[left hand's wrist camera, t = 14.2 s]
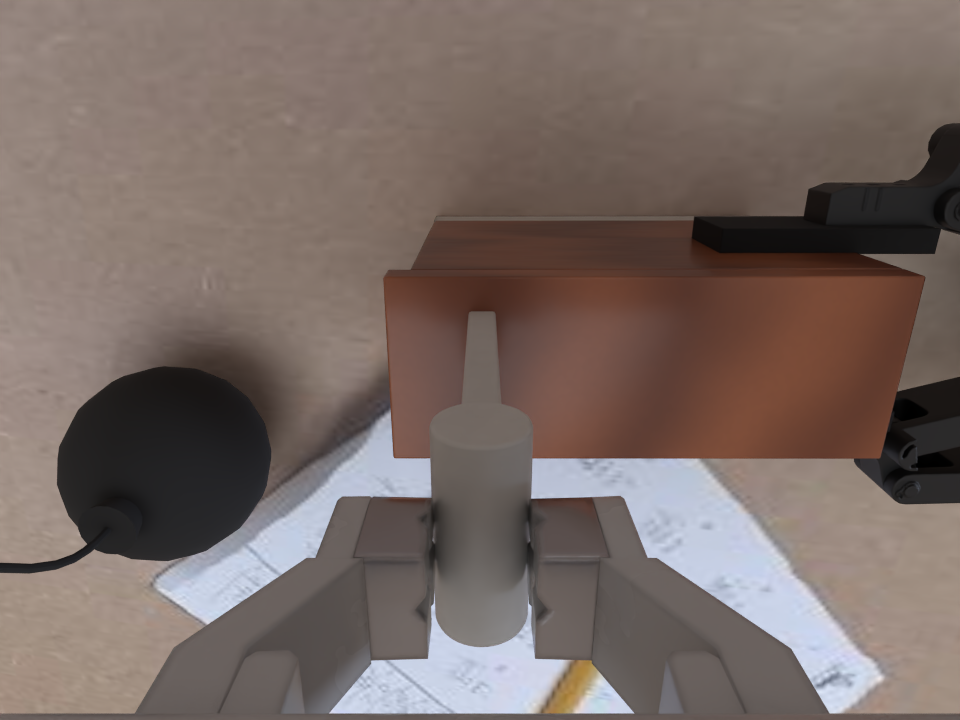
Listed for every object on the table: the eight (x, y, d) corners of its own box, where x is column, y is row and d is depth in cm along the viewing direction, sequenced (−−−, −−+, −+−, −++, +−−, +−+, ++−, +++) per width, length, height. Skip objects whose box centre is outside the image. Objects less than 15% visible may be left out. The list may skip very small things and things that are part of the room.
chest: (439, 335, 29) (417, 444, 19) (436, 216, 27) (409, 268, 17) (732, 334, 29) (862, 444, 19) (749, 216, 27) (904, 268, 17)
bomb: (322, 399, 30) (225, 567, 18) (245, 517, 32) (116, 731, 21) (169, 308, 28) (-41, 430, 17) (99, 439, 30) (-126, 625, 19)
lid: (397, 444, 19) (333, 683, 11) (388, 269, 17) (301, 399, 9) (863, 444, 19) (1149, 684, 11) (905, 268, 17) (1289, 399, 9)
